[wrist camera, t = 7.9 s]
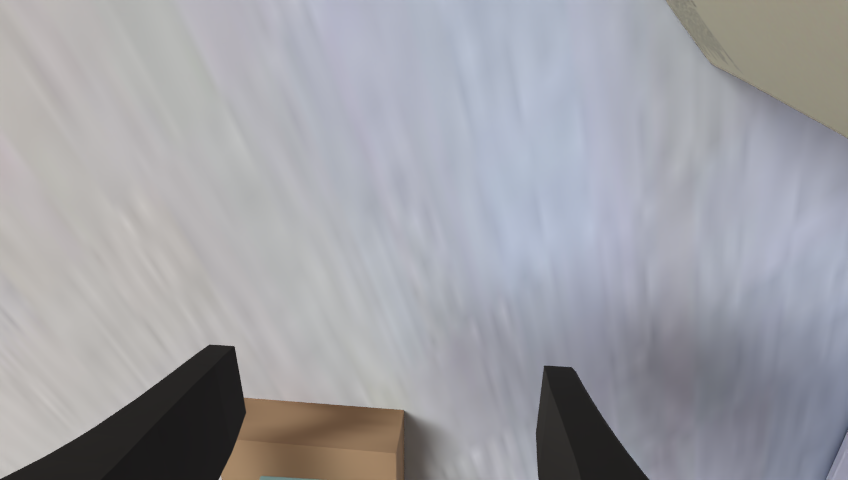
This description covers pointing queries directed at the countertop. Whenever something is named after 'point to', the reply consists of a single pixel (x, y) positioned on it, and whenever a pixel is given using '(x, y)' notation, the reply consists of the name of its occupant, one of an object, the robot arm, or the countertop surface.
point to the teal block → (281, 478)
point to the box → (779, 49)
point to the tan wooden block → (317, 442)
